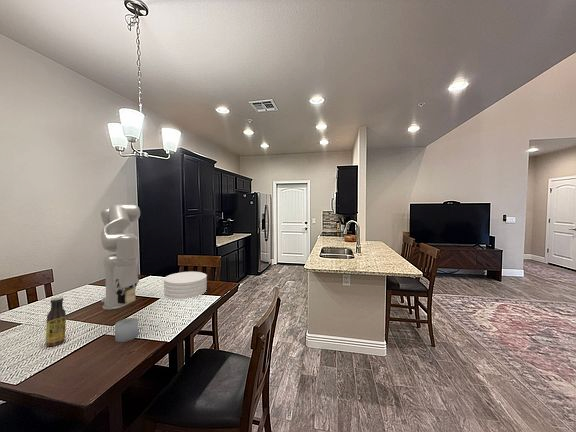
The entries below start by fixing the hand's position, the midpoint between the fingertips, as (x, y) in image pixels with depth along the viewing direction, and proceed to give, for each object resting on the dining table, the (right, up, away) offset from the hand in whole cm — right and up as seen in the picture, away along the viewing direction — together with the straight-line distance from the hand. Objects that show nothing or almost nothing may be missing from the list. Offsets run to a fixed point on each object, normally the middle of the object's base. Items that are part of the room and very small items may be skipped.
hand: (126, 300), depth 114 cm
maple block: (0, -1, 0) cm, 1 cm away
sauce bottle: (-27, -17, -6) cm, 33 cm away
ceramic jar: (0, -17, +1) cm, 17 cm away
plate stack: (+3, -16, +60) cm, 62 cm away
